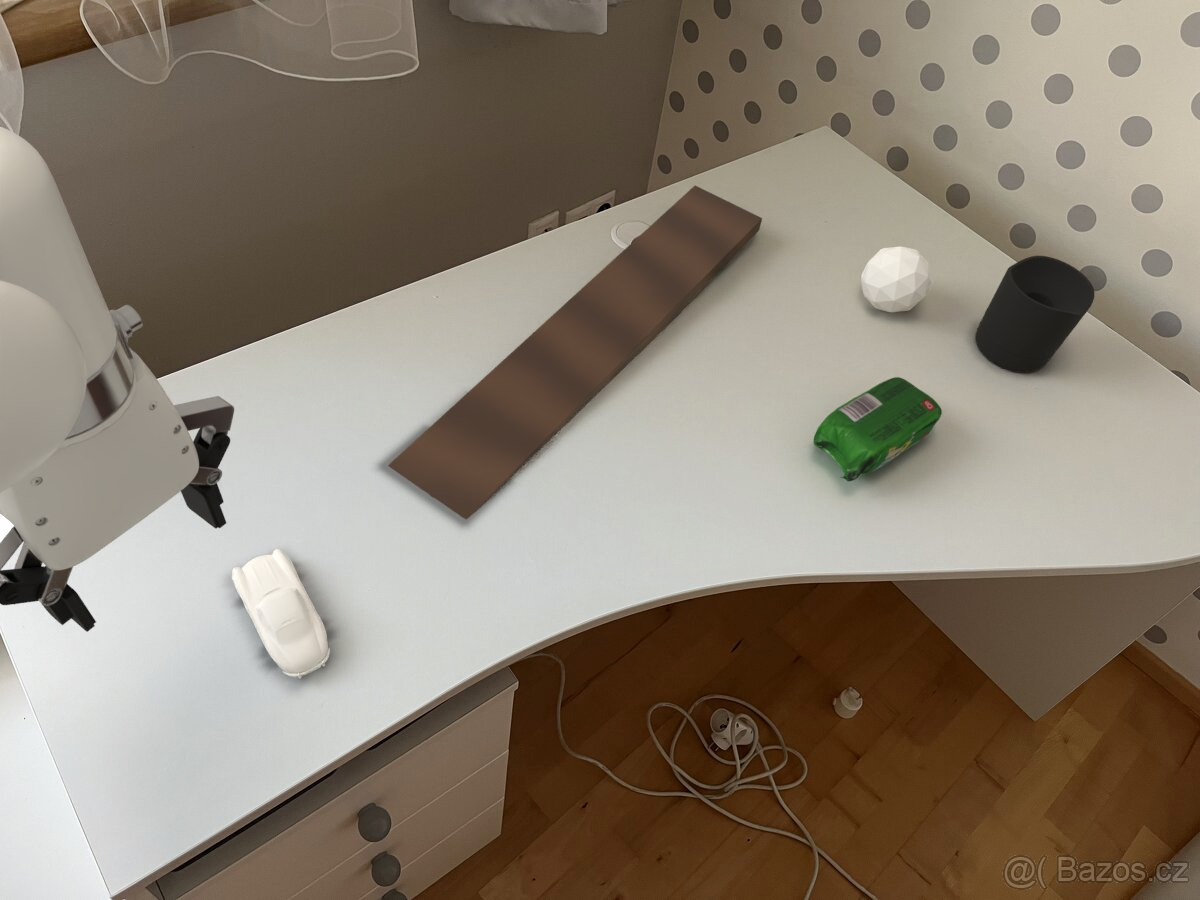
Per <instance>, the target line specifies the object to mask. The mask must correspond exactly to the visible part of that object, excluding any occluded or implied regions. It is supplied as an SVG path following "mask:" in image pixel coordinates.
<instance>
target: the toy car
mask: <svg viewBox="0 0 1200 900" xmlns="http://www.w3.org/2000/svg"><path fill="white" fill-rule="evenodd" d="M231 574H232V575H231V579H232V582H233V585H234V587H235V590H236V592H237V593H238V596H239V597H240V599H241V601H242V602H243V605H244V607H245V610H246V612H247V614H248V616H249V617H250V619H251V621H252V623H253V626H254V628H255V629H256V631H257V634H258V636H259V638H260V640H261V642H262V644H263V646H264V647H265V649H266V651H267V653H268V655H269V656H270V658H271V659H272V660H273V662H274V663H275V664H276V665H277V666H278V667H279V668H280V669H281V670H282V671H281V672H282V673H283V674H284V675H286V676H288V677H292V678H294V680H296V679H297V678H298V679H299V680H300V679H302V677H303V676H306V675H307V674H309V673H312V672H314V671H316V670H318V669H321V667H323V668H324V667H326V664H325V663H326V662H327V661H328V659H329V657H330V654H331V647H329V643H328V636H327V631H326V627H325V624H324V623H323V620H322V618H321V616H320V615H319V613H318V612H317V610H316V608H315V606H314V604H313V601H312V600H311V598H310V596H309V595H308V593H307V591H306V589H305V586H304V584H303V582H302V580H301V579H300V577H299V574H298V572H297V570H296V567H295V565H294V564H293V562H292V560H291V558H290V557H289V556H288V555H287V554H286V552H284V551H282V549H280V548H276V549H274V550H273V552H272V553H271V554H263V555H259V556H256V557H254V558H252V559H250V560H249V561H248V562H246V563H245V564H244V565H243V566H242V567H239V566H235V567H233V569H232V572H231Z"/></svg>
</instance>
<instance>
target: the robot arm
mask: <svg viewBox="0 0 1200 900" xmlns="http://www.w3.org/2000/svg"><path fill="white" fill-rule="evenodd" d="M143 326H144V323H143V319H142V318H141V316H140V314H139V313H138V312H137V311H136V309H135V308H133V306H131V305H129V304H125V305H122V306H121V307H119V308H118V309H110V310H109V307H108V305H107V303H106V300H105V298H104V295H103V294H102V291H101V289H100V286H99V284H98V281H97V279H96V277H95V275H94V272H93V269H92V267H91V265H90V262H89V260H88V258H87V256H86V253H85V251H84V248H83V245H82V243H81V241H80V238H79V236H78V234H77V231H76V229H75V226H74V224H73V221H72V219H71V216H70V214H69V212H68V209H67V206H66V204H65V202H64V200H63V197H62V194H61V192H60V189H59V187H58V185H57V183H56V180H55V177H54V176H53V174H52V172H51V170H50V168H49V166H48V164H47V162H46V161H45V159H44V158H43V157H42V155H41V154H40V153H39V151H38V150H37V149H36V148H35V147H34V146H33V145H32V144H31V143H30V142H28V141H27V140H26V139H25V138H23V137H22V136H21V135H19V134H17V133H16V132H14V131H11V130H10V129H8V128H5V127H2V126H0V605H2V606H12V605H19V604H26V603H32V602H33V603H34V602H39V603H40V604H41V605H42V607H43V608H44V609H45V611H46V612H47V613H49V615H50V616H51V618H53V619H54V620H56V622H58V623H59V624H60V625H61V626H64V625H65V624H66V623H68V622H69V621H70V620H73V622H75V623H76V624H77V625H78V626H79V627H81V628H82V629H83V630H84V631H85V632H86V633H88V632H89V631H90V630H92V629H93V628H95V626H96V625H95V624H96V623H97V621H96V619H95V617H93V615H92V613H91V611H90V610H89V609H88V607H87V606H86V604H85V603H84V601H83V600H82V598H81V596H80V595H79V594H78V592H77V591H76V590H75V589H74V588H73V587H71V585H69V584H68V581H69V579H70V576H71V573H72V571H73V568H74V567H75V566H78V565H80V564H81V563H83V562H85V561H87V560H88V559H90V558H91V557H93V556H94V555H96V554H97V553H99V552H100V551H101V550H103V549H104V548H106V547H107V546H109V545H110V544H111V543H112V542H114V541H115V540H117V539H119V537H121V536H122V535H124V534H125V533H126V532H128V531H129V530H131V529H132V528H134V527H135V526H136V525H138V524H139V523H141V522H142V521H143V520H145V519H146V518H147V517H148V516H149V515H151V514H152V513H154V512H155V511H156V510H158V509H159V508H160V507H162V506H163V505H164V504H166V503H168V501H170V500H171V499H172V498H174V497H176V496H177V495H178V494H179V493H180V494H181V496H182V498H183V500H184V502H185V505H186V507H187V508H189V510H190V511H192V512H193V513H194V514H196V516H198V517H200V518H201V519H202V520H203V521H204V522H206V523H207V524H209V525H210V526H211V527H212V528H214V529H221V528H223V527H224V526H226V524H227V520H226V518H225V515H224V512H223V510H222V507H221V505H222V504H224V499H223V496H222V493H221V491H220V488H219V485H218V483H219V481H221V479H222V476H223V471H222V470H221V468H219V467H220V465H221V462H222V461H223V458H224V456H225V454H226V452H227V451H228V448H229V446H230V444H231V438H230V436H228V434H229V432H230V431H231V428H232V424H233V418H234V413H235V406H234V405H233V404H231V403H229V401H226V400H225V399H224V398H222V397H221V396H219V395H217V396H211V397H206V398H201V399H196V400H192V401H187V402H183V403H178V404H174V403H173V402H172V400H171V398H170V397H169V395H168V394H167V392H166V390H165V389H164V387H163V386H162V384H161V382H160V381H159V380H158V379H157V377H156V376H155V375H154V373H153V372H152V371H151V369H150V368H149V367H148V366H147V364H146V362H145V361H144V360H143V359H142V358H141V357H140V356H139V355H138V353H136V352H135V351H134V350H132V348H131V347H130V346H129V338H130V337H132V336H133V332H135V331H137V330H139V329H141V328H142V327H143ZM194 430H198V431H197V433H196V435H195V437H194V439H193V438H192V436H191V434H190V431H194ZM21 545H22V546H21ZM20 547H21V549H20V552H19V554H18V557H17V560H16V563H15V565H14V568H10V569H3V568H4V566H5V565H6V564H7V563H8V561H9V560H10V559H11V558H12V556H13V555H15V553H16V552H17V550H18V549H19V548H20Z"/></svg>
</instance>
